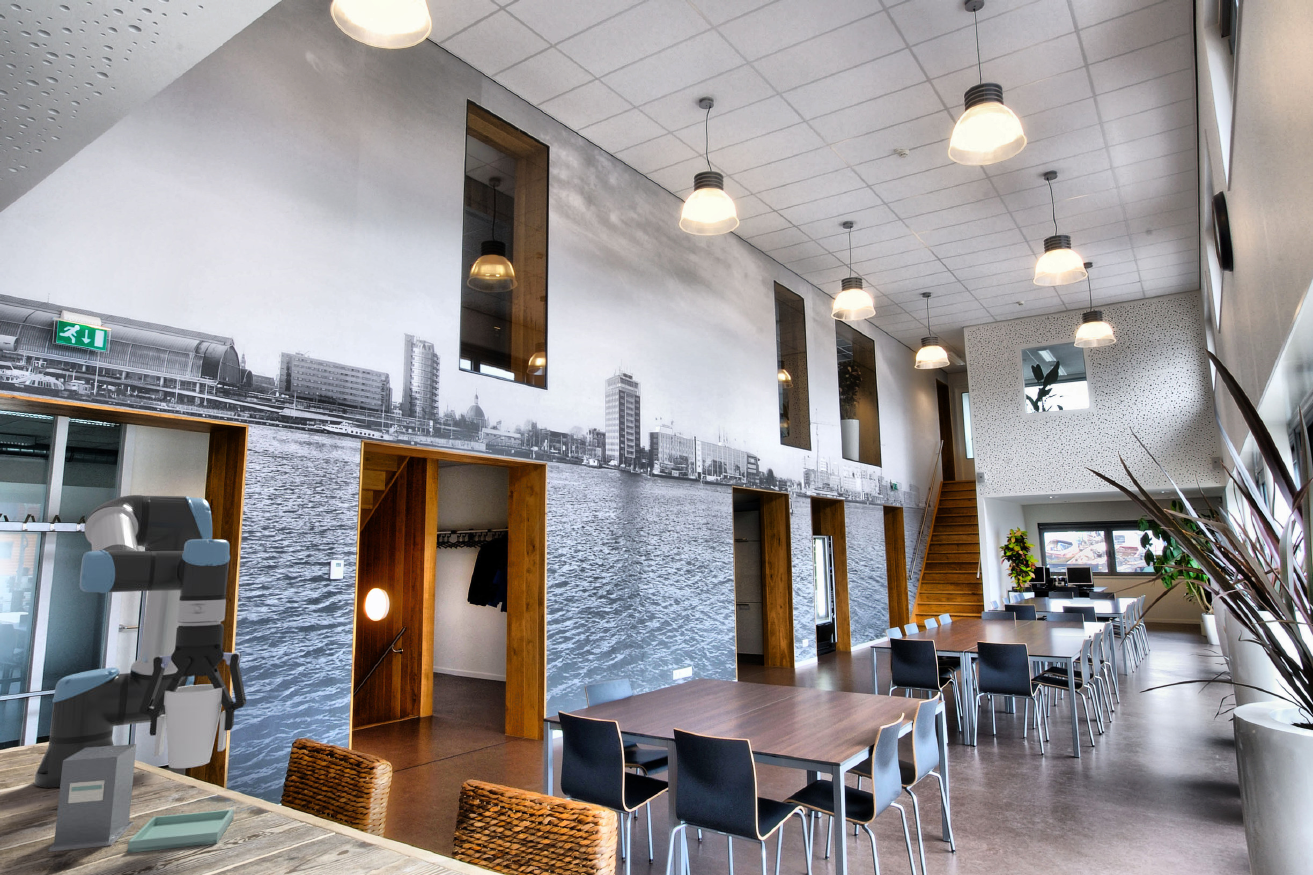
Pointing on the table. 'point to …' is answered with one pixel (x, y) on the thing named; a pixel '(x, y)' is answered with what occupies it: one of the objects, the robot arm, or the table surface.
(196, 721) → the foam cup
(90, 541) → the robot arm
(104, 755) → the unit
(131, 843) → the tray
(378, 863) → the table surface
